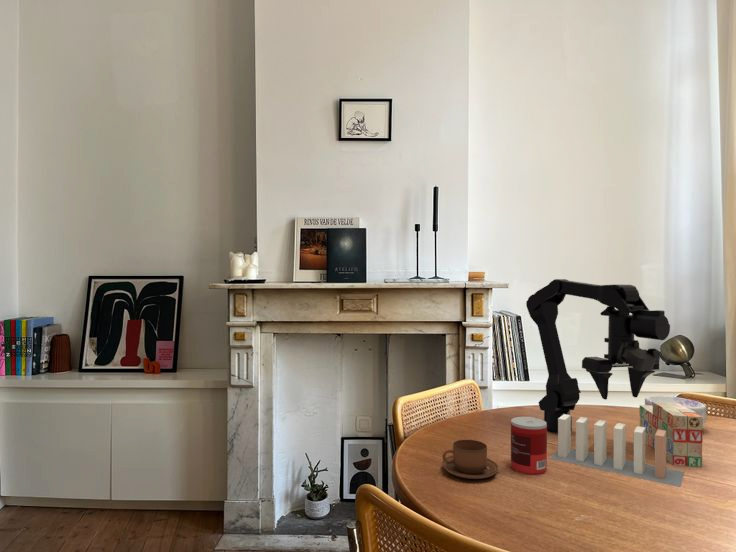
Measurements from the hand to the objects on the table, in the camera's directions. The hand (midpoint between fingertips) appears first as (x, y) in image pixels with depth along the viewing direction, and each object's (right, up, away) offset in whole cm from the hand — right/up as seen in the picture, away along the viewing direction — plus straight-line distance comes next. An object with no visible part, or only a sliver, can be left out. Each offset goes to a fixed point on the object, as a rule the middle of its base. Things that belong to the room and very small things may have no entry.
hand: (619, 398), depth 120 cm
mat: (-6, -13, -10) cm, 18 cm away
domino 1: (-15, -13, -3) cm, 20 cm away
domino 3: (-9, -13, -8) cm, 17 cm away
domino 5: (-2, -13, -13) cm, 18 cm away
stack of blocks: (+12, -14, +1) cm, 19 cm away
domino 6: (+1, -13, -15) cm, 20 cm away
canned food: (-27, -13, -12) cm, 32 cm away
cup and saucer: (-40, -14, -13) cm, 44 cm away
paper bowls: (+27, -14, +22) cm, 38 cm away
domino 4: (-5, -13, -10) cm, 17 cm away
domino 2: (-12, -13, -5) cm, 18 cm away
